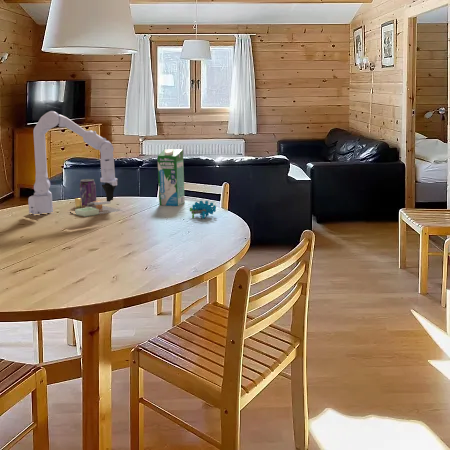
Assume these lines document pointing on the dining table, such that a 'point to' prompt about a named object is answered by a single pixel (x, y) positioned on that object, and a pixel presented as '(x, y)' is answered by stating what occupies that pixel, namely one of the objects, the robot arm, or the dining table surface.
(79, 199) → the brass pin
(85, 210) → the tray
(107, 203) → the crank
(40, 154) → the robot arm
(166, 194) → the milk carton
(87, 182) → the beverage can
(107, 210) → the base plate
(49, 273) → the dining table surface
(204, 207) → the gear
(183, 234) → the dining table surface
